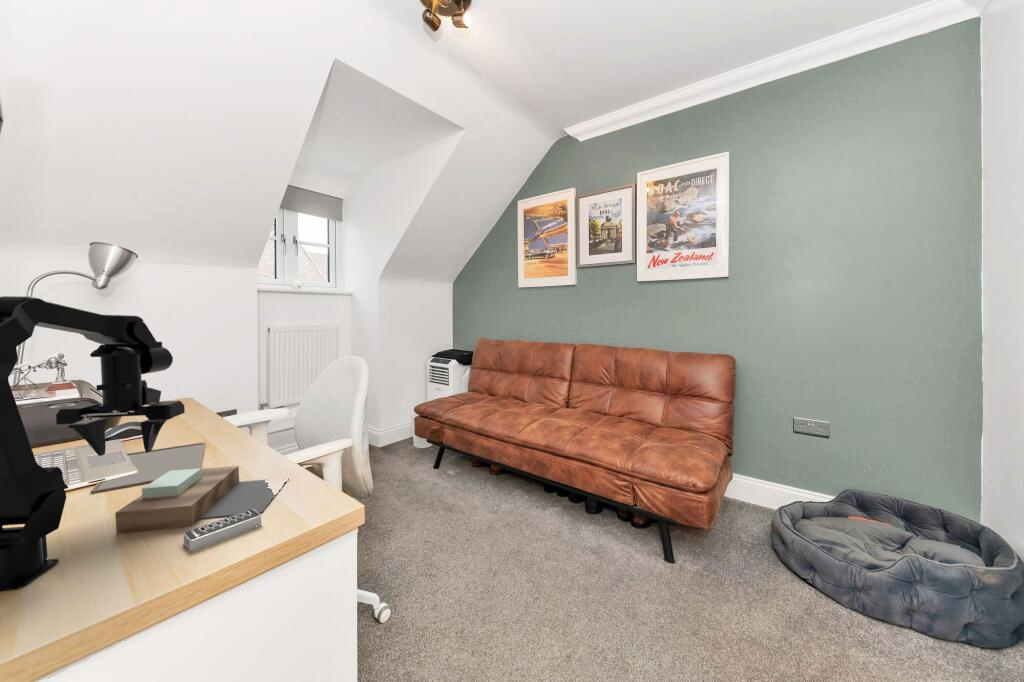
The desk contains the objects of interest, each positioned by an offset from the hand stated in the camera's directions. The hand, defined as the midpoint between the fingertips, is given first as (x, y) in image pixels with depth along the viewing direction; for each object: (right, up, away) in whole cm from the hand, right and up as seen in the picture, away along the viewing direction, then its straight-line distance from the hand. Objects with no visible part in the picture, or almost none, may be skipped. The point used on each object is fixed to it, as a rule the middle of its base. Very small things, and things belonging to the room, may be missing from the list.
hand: (125, 453), depth 80 cm
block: (+8, -8, +2) cm, 11 cm away
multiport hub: (+26, -13, -8) cm, 30 cm away
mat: (+21, -12, +7) cm, 25 cm away
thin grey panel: (-16, -11, +25) cm, 31 cm away
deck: (+10, -12, +3) cm, 16 cm away
